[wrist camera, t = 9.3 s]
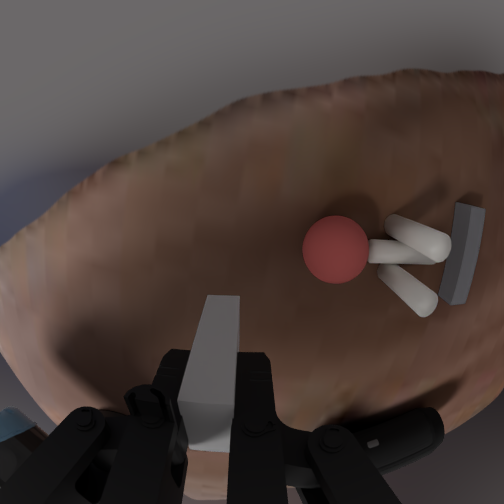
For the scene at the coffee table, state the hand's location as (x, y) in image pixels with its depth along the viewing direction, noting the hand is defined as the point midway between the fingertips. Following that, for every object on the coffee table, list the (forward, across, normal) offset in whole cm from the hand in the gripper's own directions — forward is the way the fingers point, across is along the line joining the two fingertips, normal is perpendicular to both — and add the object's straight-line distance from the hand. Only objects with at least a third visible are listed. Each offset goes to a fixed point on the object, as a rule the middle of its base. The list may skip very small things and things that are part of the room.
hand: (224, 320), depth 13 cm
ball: (+11, -9, 0) cm, 14 cm away
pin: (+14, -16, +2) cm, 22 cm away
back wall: (+14, -27, 0) cm, 30 cm away
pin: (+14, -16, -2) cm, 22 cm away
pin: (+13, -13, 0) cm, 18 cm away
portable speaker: (+14, -22, +34) cm, 43 cm away
